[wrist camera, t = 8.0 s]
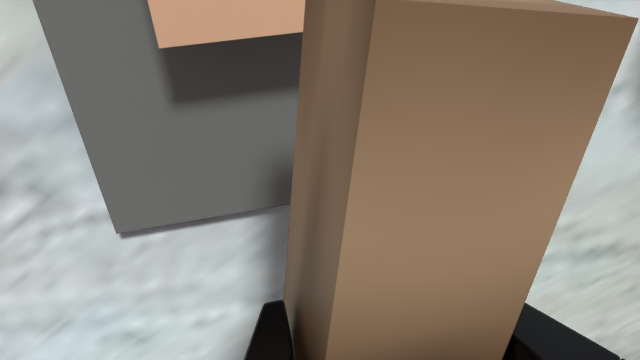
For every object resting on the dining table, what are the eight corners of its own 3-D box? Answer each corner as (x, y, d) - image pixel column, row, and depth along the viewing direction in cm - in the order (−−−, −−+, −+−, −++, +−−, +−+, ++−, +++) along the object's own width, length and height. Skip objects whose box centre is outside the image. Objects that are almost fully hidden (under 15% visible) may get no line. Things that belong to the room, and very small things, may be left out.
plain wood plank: (374, 420, 14) (421, 560, 11) (273, 434, 13) (292, 589, 10) (476, -16, 8) (638, 18, 5) (308, -32, 7) (375, -3, 4)
